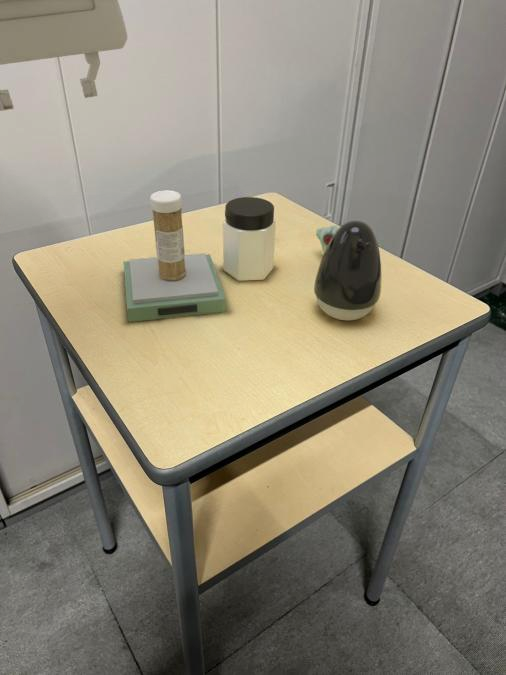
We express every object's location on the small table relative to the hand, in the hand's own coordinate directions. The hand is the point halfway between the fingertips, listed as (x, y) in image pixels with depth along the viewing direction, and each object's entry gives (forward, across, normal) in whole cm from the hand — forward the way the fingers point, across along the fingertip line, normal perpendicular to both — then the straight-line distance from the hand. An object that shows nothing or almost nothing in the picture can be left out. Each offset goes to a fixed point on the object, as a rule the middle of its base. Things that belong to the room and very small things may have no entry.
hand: (49, 102), depth 60 cm
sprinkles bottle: (+29, -11, -4) cm, 31 cm away
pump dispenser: (+34, -35, +10) cm, 50 cm away
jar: (+34, -25, -7) cm, 43 cm away
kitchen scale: (+32, -11, -4) cm, 34 cm away
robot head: (+35, -41, -6) cm, 54 cm away
